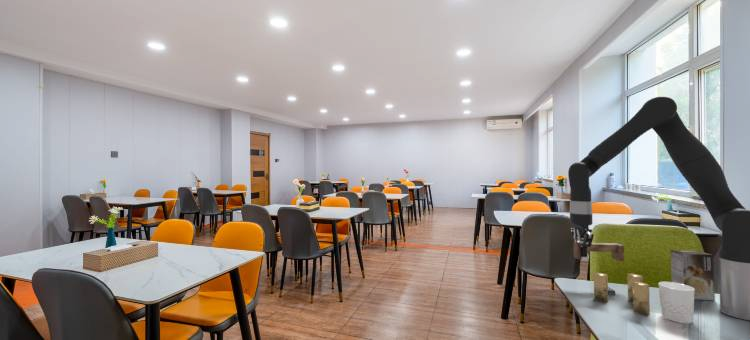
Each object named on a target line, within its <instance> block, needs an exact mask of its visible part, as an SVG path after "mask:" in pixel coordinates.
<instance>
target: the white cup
mask: <svg viewBox="0 0 750 340" xmlns="http://www.w3.org/2000/svg"><path fill="white" fill-rule="evenodd" d="M694 291H695V289H694V288H693V287H690V286H688V285H684V284H680V283H674V282H672V281H660V282H658V293H659V301H660V302H659V303H660V307H661V316H662V317H663V318H664V319H666V320H669V321H671V322H674V323H679V324H685V325H686V324H692V323H694V312H695V311H694V310H695V309H694V307H695V299H694Z"/></svg>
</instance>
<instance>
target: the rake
mask: <svg viewBox="0 0 750 340" xmlns="http://www.w3.org/2000/svg"><path fill="white" fill-rule="evenodd" d="M587 252H594V253H595V252H598V253H604V252H605V253H611V254H610V255H611V259H614V260H616V261H619V262H625V245H623V244H620V243H617V242H611V243H609V242H592V244H591V247H587ZM573 258H574V259H576V260H582V259H583V257H581V256H580V243H575V242H573Z"/></svg>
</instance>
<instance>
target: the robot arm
mask: <svg viewBox="0 0 750 340" xmlns="http://www.w3.org/2000/svg"><path fill="white" fill-rule="evenodd" d="M650 130H653V131H654V132H655V133H656V135H657V137H659V138H660V139H661V142H662V143H663V145H664V147H665V149H666V151H667V153H668V155H669V157H670V159H671V160H672V162H673V163H674V166H675V167H676V169H678V172H679V173H680V174H681V175H682V177H683V178H684V179H685V181H686V182H687V183H688V184H689V186H690V187H691V188H692V189H693V191H694V192H695V193H696V194H697V196H698V197H700V199H701V201H702V202H703V204H704V205H705V207H706V209H707V211H708V213H709V215H710V217H711V218H712V221H713V222H714V224H715V227H716V228H718V230H719V231H720V232H721V246H720V247H719V248H718V274H719V307H720V308H719V309H720V311H721V312H722V313H723V314H725V315H728V316H730V317H733V318H737V319H740V320H746V321H750V209H746V208H745V207H744V206H743V204H742V203H741V202H740V201H739V200H738V199H737V197H736V196H735V195H734V193H733V192H732V190H731V189H730V187H729V184H728V181H727V178H726V176H725V173H724V170H723V168H722V166H721V164H720V163H719V162H718V161H717V159H716V158H715V156H714V155H713V154H712V152H711V151H710V150H709V149H708V148H707V147H706V145H705V144H704V143H703V142H701V140H700V139H698V138H697V137H696V136H695V135H694V134H693V133H692V132H691V131H690V130H689V129H688V128H687V127H686V126H685V124H684V122H683V120H682V119H681V117H680V115H679V114H678V106H677V103H676V100H674V99H673V98H671V97H669V96H664V95H663V96H655V97H652V98H650V99H648V100H647V101H646V102H644V104H643V105H642V107H641V108H640V109H639V110H638V111H637V112H636V113H635V115H633V116H632V118H630V119H629V120H628V121H627V122H626V123H625V124H624V125H622V126H621V127H620V128H618V130H616V131H615V132H613V133H612V134H610V135H609V136H608V137H606V138H605V139H604V140H602V142H600V143H598V145H596V146H595V147H594V148H593V149H592V150H590V151H589V152H588V155H586V156H585V157H584V158H583V159H581V160H580V161H579V162H578V161H577V162H574V163H572V164H571V165H570V166H569V168H568V175H567V176H568V183H569V184H568V185H569V189H570V191H569V193H570V194H569V195H570V197H569V198H570V199H569V200H570V201H569V223H570V224H572V225H573V227H570V228H569V232H570V236H571V241H572V243H574V242H575V243H580V256H581V257H582V258H587V257H588V251H587V247H591V244H592V243H593V239H594V236H595V235H594V233H593V232H592V233H591V232H590V228H589V227H590V226H592V225H593V204H592V191H591V187H590V177H592V176H593V175H594V174H596V172H597V171H599V170H600V169H601V168H602V167H603V166H605V165H606V164H607V163H609V162H610V161H612V160H613V159H615V158H616V157H617V156H618V155H620V154H621V153H622V152H623V151H625V150H626V149H627V148H628V147H629V146H630V145H631V144H632V143H634V142H635V141H636V140H637V139H638V138H640V137H641V136H643V135H644V134H645V133H647V132H648V131H650Z"/></svg>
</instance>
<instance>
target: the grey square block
mask: <svg viewBox="0 0 750 340" xmlns="http://www.w3.org/2000/svg"><path fill="white" fill-rule="evenodd" d="M608 296H616V290H614V289H612V288H611V287H610V286H608Z"/></svg>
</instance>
